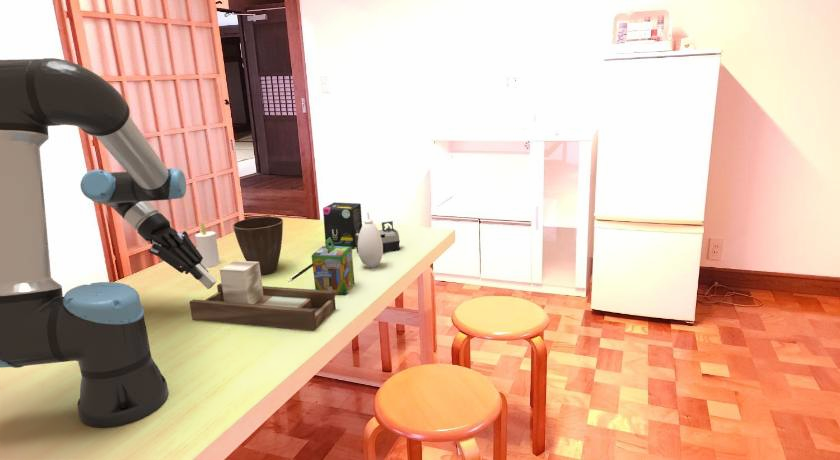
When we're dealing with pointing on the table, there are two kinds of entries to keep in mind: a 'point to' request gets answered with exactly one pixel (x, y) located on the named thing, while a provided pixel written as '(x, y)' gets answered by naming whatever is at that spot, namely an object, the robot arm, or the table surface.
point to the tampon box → (342, 223)
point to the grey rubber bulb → (370, 244)
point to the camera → (386, 238)
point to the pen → (300, 273)
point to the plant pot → (260, 241)
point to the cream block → (242, 282)
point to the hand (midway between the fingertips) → (212, 285)
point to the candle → (207, 247)
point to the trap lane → (269, 308)
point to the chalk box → (333, 268)
